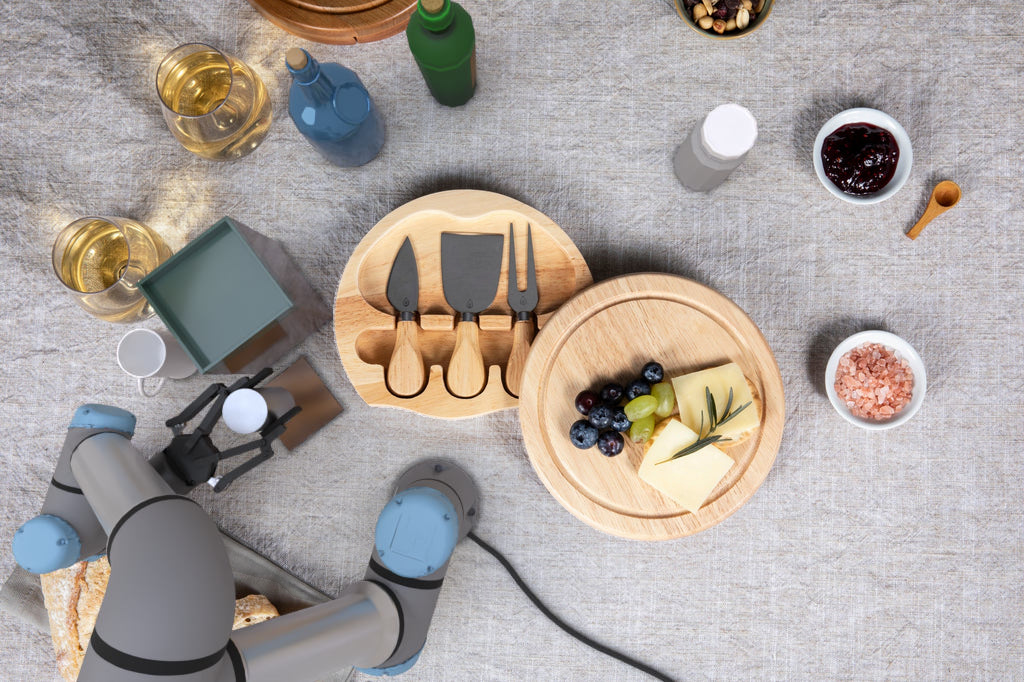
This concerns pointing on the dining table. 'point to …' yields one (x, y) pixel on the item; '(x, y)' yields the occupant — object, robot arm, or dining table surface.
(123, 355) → the mug
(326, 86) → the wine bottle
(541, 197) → the dining table surface
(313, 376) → the brown coaster
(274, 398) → the can
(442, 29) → the bottle
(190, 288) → the teal boxy piece
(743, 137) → the jar
